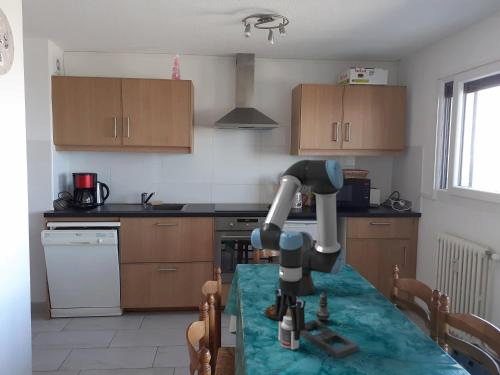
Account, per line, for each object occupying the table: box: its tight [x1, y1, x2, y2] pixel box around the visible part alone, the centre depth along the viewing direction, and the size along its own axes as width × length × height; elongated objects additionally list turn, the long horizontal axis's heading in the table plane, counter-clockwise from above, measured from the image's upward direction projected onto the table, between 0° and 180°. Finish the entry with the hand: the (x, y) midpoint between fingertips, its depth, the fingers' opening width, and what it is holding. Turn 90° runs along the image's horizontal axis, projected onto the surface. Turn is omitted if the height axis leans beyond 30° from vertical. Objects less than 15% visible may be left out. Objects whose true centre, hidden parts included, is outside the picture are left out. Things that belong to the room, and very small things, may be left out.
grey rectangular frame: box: [300, 319, 360, 360], centre depth 132 cm, size 22×10×2 cm, turn 32°
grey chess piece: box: [314, 291, 331, 326], centre depth 147 cm, size 6×6×12 cm
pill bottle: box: [280, 315, 297, 349], centre depth 128 cm, size 5×5×10 cm
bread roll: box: [264, 304, 291, 322], centre depth 153 cm, size 11×11×5 cm
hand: (288, 343), depth 129 cm, fingers open, 6 cm apart
